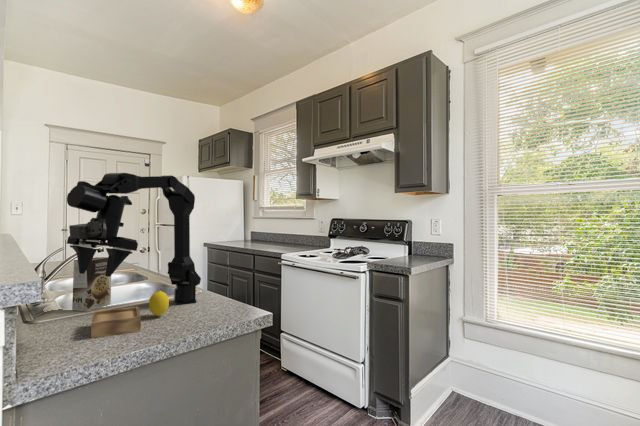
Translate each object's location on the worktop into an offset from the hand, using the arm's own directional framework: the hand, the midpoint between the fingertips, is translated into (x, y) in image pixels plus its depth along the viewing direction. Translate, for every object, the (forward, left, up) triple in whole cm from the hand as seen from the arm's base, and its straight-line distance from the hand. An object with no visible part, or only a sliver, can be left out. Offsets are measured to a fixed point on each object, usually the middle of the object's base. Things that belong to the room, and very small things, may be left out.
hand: (94, 275), depth 87 cm
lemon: (-16, -8, -16) cm, 24 cm away
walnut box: (-5, -2, -16) cm, 17 cm away
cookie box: (+2, -28, -16) cm, 32 cm away
